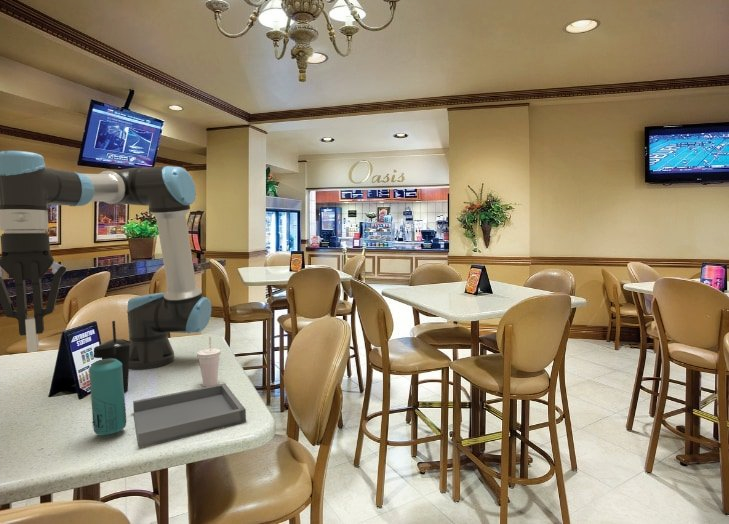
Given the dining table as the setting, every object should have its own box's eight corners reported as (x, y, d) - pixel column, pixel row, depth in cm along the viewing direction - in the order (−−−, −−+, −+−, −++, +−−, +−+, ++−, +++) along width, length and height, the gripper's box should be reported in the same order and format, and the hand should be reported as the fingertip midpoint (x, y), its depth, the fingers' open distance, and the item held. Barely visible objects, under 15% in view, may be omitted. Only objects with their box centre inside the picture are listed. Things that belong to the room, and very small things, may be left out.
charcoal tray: (133, 413, 105) (133, 401, 104) (225, 394, 116) (225, 383, 116) (139, 448, 88) (138, 434, 87) (246, 421, 99) (245, 409, 99)
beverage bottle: (133, 427, 97) (128, 341, 95) (115, 442, 90) (109, 349, 89) (105, 427, 97) (100, 341, 95) (85, 442, 90) (79, 349, 89)
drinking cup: (109, 399, 113) (104, 325, 112) (97, 393, 118) (92, 322, 116) (138, 390, 119) (134, 320, 118) (126, 385, 124) (121, 317, 122)
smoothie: (214, 389, 120) (212, 340, 119) (193, 387, 121) (191, 339, 120) (226, 381, 126) (224, 334, 125) (206, 379, 127) (204, 333, 126)
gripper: (-24, 232, 77) (-15, 360, 79) (63, 231, 84) (71, 349, 86) (-14, 232, 84) (-5, 351, 85) (66, 232, 90) (73, 341, 92)
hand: (33, 350), depth 85 cm, fingers closed
